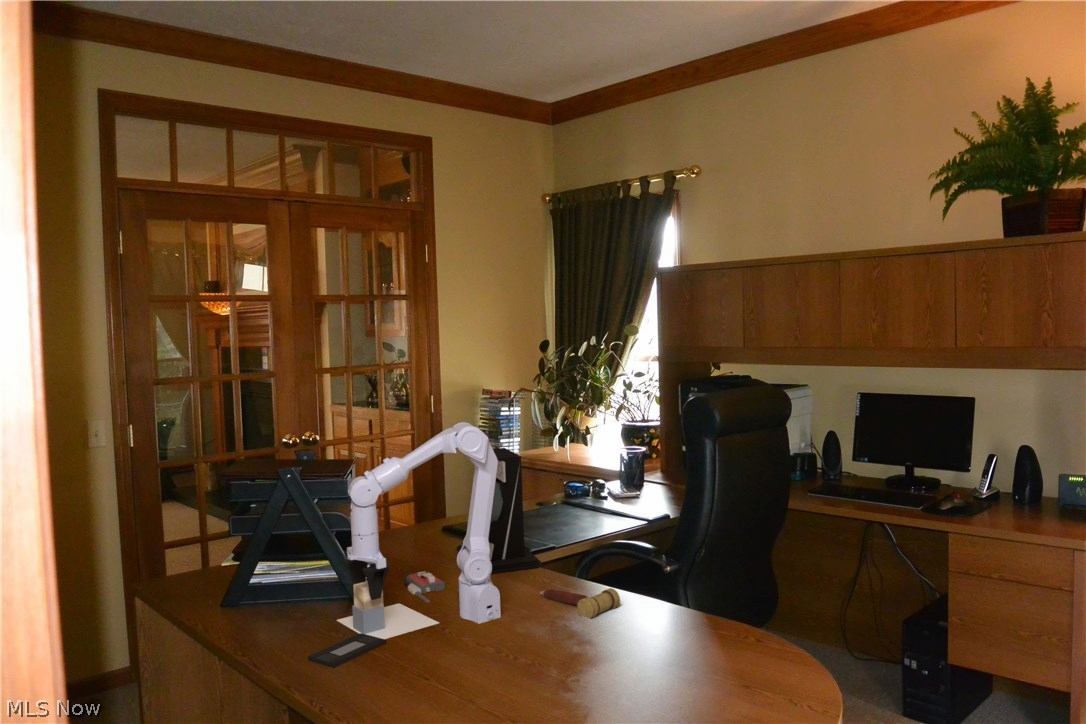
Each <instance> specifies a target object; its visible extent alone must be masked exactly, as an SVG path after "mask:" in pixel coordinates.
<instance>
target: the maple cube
mask: <svg viewBox="0 0 1086 724" xmlns="http://www.w3.org/2000/svg"><path fill="white" fill-rule="evenodd" d="M352 586H353V605H354V606H356V607H358V608H360V609H362V610H364V611H365V610H368V609H372V608H376V607H380V606H384V590H382V595H381V598H379V599H375V600H371V598H370V594H369V587H368V582H367V580H366V582H362V583H358V584H354V585H353V584H352Z"/></svg>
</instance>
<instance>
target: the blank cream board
mask: <svg viewBox="0 0 1086 724" xmlns="http://www.w3.org/2000/svg"><path fill="white" fill-rule="evenodd" d="M384 619H385V629H381V630H377V631H374V632H370V633H367V634H366V635H370V636H374V637H378V638H381V639H385V640H387V639H390V638H393V637H396V636H400V635H404V634H407V633H410V632H414V631H417V630H420V629H424V628H427V627H430V626H435V625H438V624H440V622H439V621H437V620H434V619H433V618H430V617H428V616H427V615H424V614H422V613H421V612H419V611H416V610H415V609H412V608H409V607H407V606H406V605H404V604H401V603H395V604H391V605H388V606H384ZM336 621H337V622H338V623H340V624H341V625H344V626H345V627H347V628H349V629H351V630H353V631H354V632H356V633H357V634H360V633H361V632H359V631H357V630H356V629H354V628H353V615H350V616H347V617H343V618H338V619H336Z"/></svg>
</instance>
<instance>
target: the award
mask: <svg viewBox="0 0 1086 724" xmlns="http://www.w3.org/2000/svg"><path fill="white" fill-rule="evenodd" d="M492 449H493V451H494V453H495V455H496V457H497V460H498V466H497V474H496V481H495V489H494V497H493V505H492V513H491V521H490V529H489V537H488V541H489V547H490V561H491V564H492V572H491V574H499V573H500V574H501V573H508V572H516V571H517V572H518V571H524V570H525V571H526V570H531V569H537V568H541V567H542V566H543V562H542V561H541V560H539V558H537V556H536V555H534V554H533V553H532V552H531V551H530V550H529V549H527V548H526V547H525V533H524V532H525V530H524V500H523V499H524V498H523V495H524V494H523V476H522V475H523V470H522V469H523V468H522V455H519V454H518V453H515V452H514V451H512V450H509V448H508V449H507V448H505V447H498V448H497V447H496V448H492ZM462 546H463V542H461V543H460V544H459V545H457V546H456V551H457V552H458V553H459V551H460V550H461V548H462ZM491 574H490V575H491Z"/></svg>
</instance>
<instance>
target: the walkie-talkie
mask: <svg viewBox="0 0 1086 724" xmlns="http://www.w3.org/2000/svg"><path fill="white" fill-rule="evenodd" d="M403 583H404V584H405V585H406V586H407V591H409V592H410V593H411V594H412V595H415V596H417V597H418V598H420V599H421V600H422V601H424V602H425V603H431V600H430V599H428V598H427V597H426V596H424V595H423V594H425V593H429V592H440V591H444V590H445V589H446V582H444V581H443V580H442V579H440V578H438V577H437V576H436V575H433V574H432V573H430V572H428V571H426V570H425V571H418V572H415V573H409V574H408V575H407V576H406V578H405V579H403Z"/></svg>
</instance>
